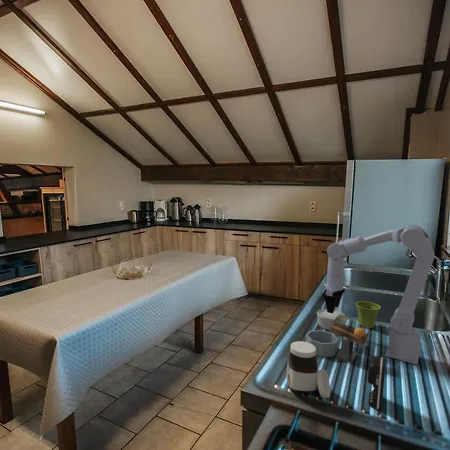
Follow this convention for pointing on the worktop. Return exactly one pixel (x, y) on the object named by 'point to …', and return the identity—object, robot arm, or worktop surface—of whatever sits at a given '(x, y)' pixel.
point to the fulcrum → (346, 350)
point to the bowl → (323, 342)
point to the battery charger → (376, 381)
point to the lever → (346, 330)
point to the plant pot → (367, 313)
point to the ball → (359, 333)
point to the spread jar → (306, 370)
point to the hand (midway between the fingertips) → (332, 309)
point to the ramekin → (327, 318)
